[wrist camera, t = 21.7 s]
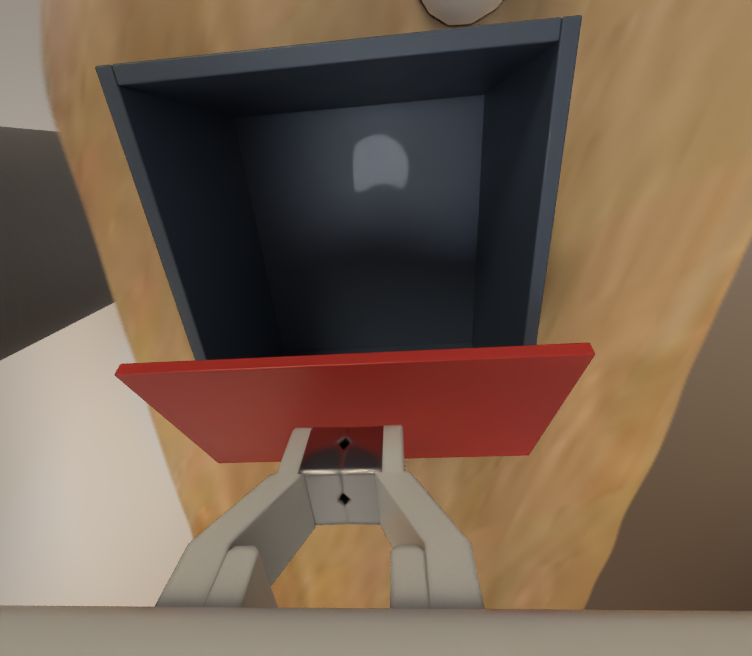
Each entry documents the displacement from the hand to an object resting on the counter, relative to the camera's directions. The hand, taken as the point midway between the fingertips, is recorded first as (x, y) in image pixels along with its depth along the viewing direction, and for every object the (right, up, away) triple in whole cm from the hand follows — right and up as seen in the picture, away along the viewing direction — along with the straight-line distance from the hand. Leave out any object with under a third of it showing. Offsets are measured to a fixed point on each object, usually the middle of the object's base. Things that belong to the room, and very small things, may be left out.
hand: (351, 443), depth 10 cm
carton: (0, +8, +10) cm, 13 cm away
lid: (0, 0, +2) cm, 2 cm away
